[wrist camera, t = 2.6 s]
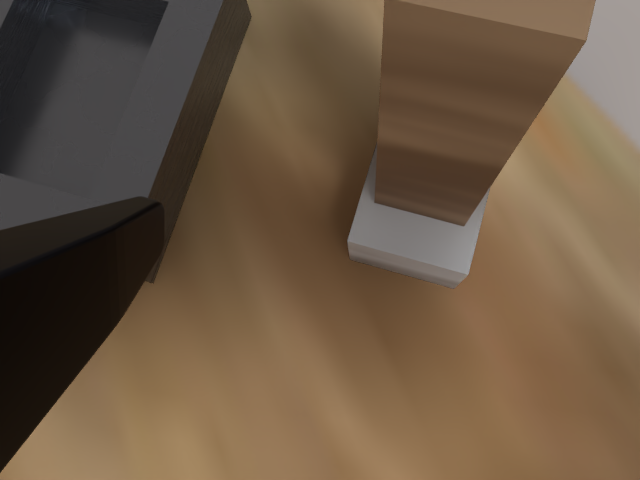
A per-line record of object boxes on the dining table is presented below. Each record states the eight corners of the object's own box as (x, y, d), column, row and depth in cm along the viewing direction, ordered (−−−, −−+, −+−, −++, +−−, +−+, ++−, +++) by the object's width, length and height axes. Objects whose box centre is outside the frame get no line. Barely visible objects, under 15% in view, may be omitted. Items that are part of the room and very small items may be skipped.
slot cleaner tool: (453, 288, 21) (602, 142, 8) (349, 259, 21) (324, 77, 8) (491, 142, 22) (674, -198, 9) (391, 118, 23) (427, -235, 10)
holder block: (153, 283, 22) (120, 269, 19) (-70, 215, 23) (-132, 192, 20) (251, 16, 24) (235, -33, 21) (44, -30, 26) (3, -82, 23)
